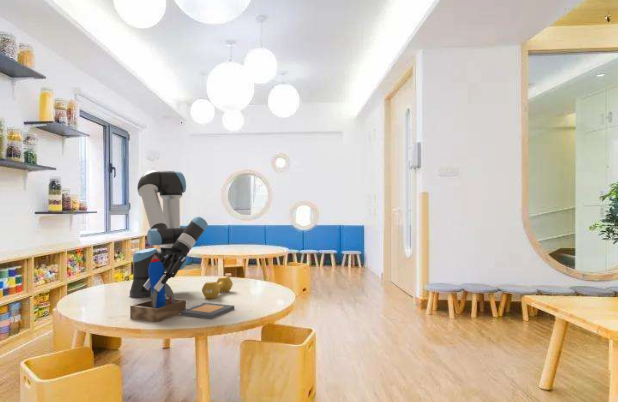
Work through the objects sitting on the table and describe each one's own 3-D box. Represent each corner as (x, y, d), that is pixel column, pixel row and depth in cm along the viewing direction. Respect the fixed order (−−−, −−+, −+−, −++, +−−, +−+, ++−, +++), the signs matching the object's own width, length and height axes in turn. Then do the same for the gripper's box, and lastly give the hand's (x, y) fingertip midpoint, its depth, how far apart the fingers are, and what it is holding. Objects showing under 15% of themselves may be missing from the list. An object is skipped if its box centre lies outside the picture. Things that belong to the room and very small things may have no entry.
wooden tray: (130, 317, 161) (130, 305, 161) (160, 308, 176) (159, 297, 176) (157, 321, 155) (157, 309, 155) (185, 311, 169) (185, 300, 169)
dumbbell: (216, 300, 190) (216, 283, 190) (200, 299, 192) (200, 282, 192) (234, 291, 208) (233, 276, 208) (218, 290, 211) (218, 275, 211)
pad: (180, 315, 164) (180, 311, 164) (205, 305, 179) (205, 302, 179) (210, 319, 157) (210, 315, 157) (234, 309, 172) (234, 305, 172)
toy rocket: (155, 317, 158) (148, 256, 159) (140, 316, 163) (134, 257, 164) (176, 310, 167) (170, 252, 168) (162, 309, 172) (156, 253, 173)
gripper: (202, 252, 172) (171, 296, 159) (174, 249, 184) (143, 291, 170) (192, 241, 168) (159, 286, 155) (164, 239, 179) (131, 281, 166)
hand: (151, 288), depth 162 cm, fingers closed on toy rocket, 7 cm apart
